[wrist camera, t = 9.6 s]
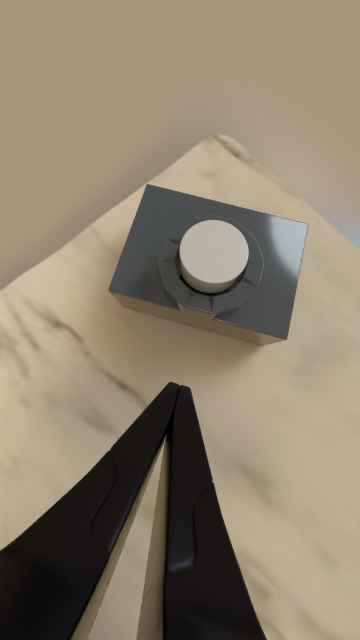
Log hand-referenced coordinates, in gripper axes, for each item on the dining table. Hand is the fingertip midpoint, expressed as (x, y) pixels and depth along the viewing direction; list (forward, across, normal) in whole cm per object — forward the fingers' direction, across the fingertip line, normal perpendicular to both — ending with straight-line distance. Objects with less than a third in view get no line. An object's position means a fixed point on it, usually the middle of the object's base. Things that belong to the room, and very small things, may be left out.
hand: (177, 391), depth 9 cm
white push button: (+10, 0, -2) cm, 10 cm away
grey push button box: (+16, 0, +2) cm, 16 cm away
